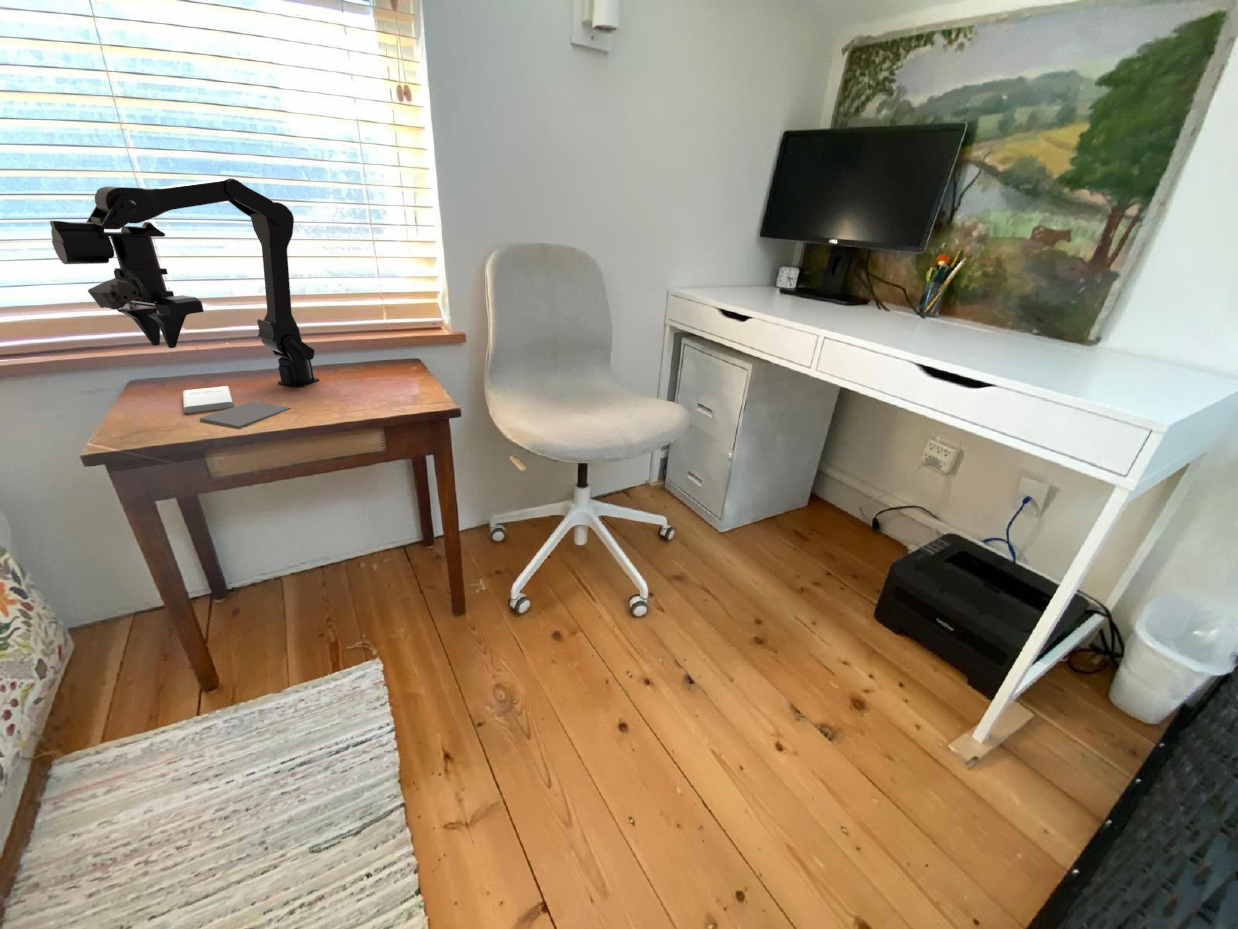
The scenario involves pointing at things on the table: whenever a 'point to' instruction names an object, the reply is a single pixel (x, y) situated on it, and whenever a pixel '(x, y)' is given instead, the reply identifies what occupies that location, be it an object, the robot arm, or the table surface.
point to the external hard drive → (207, 399)
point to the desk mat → (244, 414)
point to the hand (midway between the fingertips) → (164, 346)
